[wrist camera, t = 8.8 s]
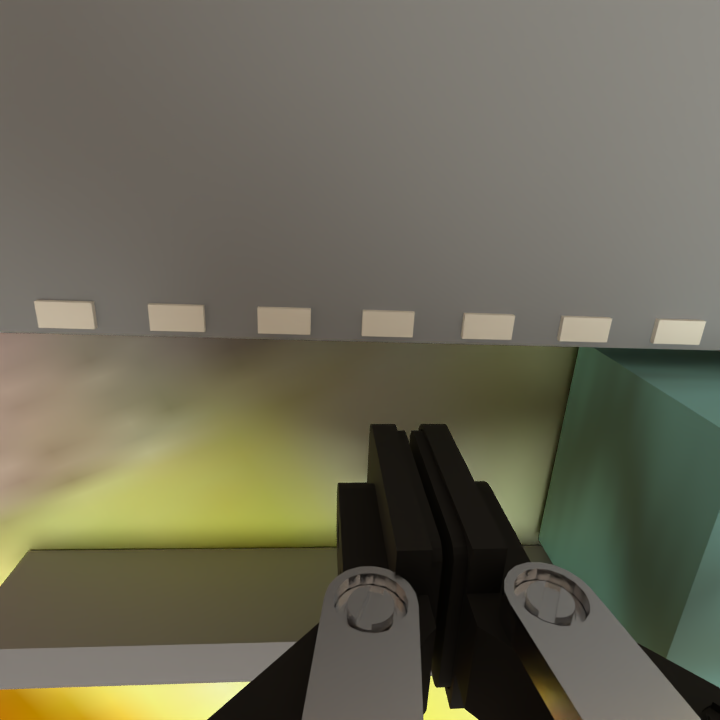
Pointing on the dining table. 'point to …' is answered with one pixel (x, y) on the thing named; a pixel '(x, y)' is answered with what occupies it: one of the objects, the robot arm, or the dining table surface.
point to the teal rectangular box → (644, 496)
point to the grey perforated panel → (333, 235)
